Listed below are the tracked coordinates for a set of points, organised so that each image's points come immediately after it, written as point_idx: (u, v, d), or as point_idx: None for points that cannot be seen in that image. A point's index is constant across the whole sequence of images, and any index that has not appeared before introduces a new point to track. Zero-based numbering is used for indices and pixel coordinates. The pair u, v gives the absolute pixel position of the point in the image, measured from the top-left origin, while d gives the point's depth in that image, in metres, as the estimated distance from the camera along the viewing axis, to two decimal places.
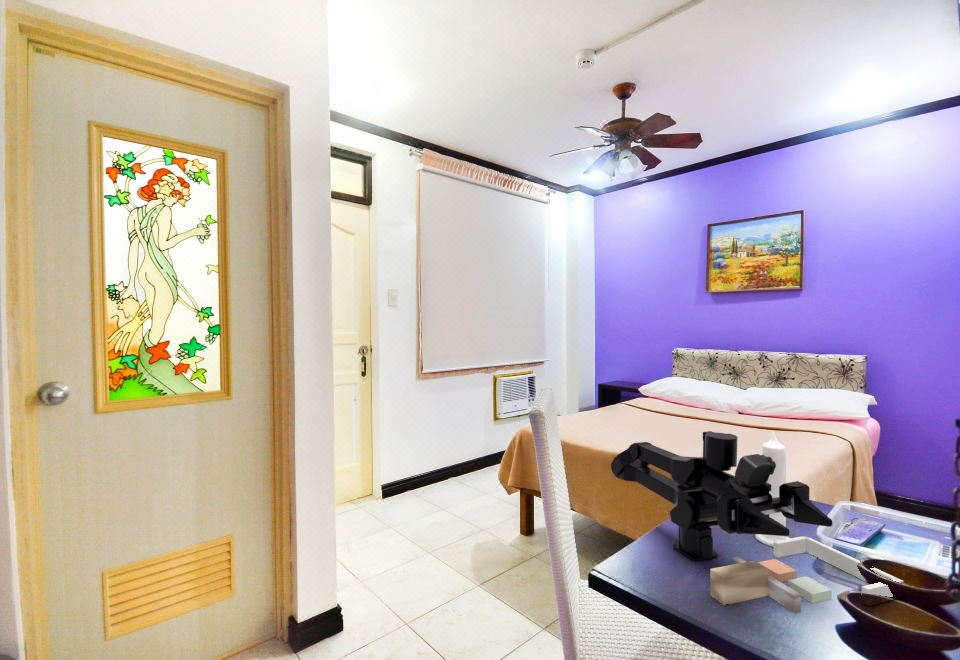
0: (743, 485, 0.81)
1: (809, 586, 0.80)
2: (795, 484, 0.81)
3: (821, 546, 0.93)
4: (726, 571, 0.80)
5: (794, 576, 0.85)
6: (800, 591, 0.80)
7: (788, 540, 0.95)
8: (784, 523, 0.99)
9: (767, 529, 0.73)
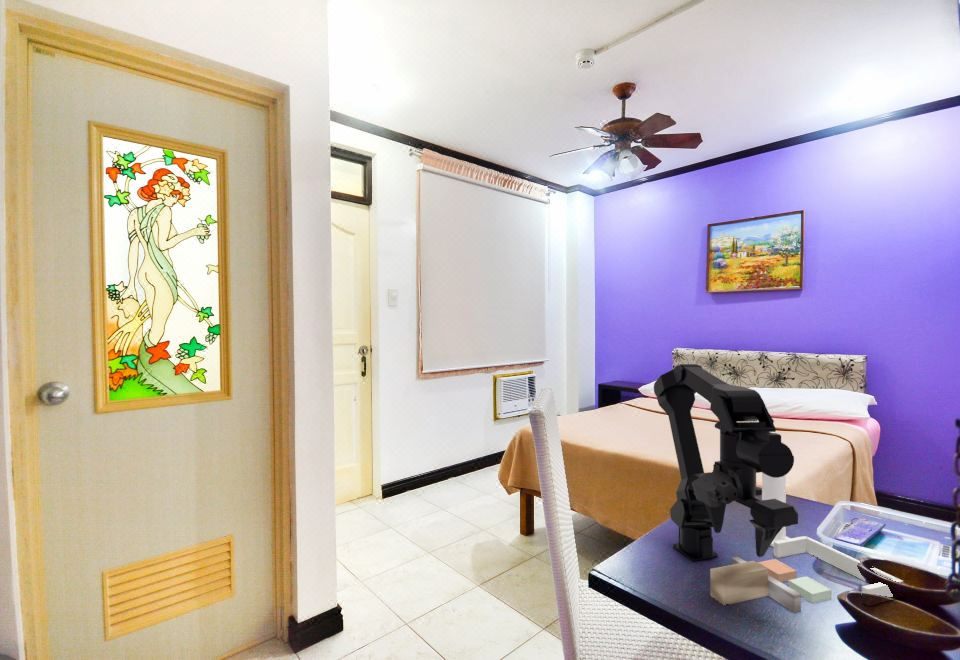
0: None
1: (809, 586, 0.80)
2: (757, 517, 0.73)
3: (821, 546, 0.93)
4: (726, 571, 0.80)
5: (794, 576, 0.85)
6: (800, 591, 0.80)
7: (788, 540, 0.95)
8: None
9: None
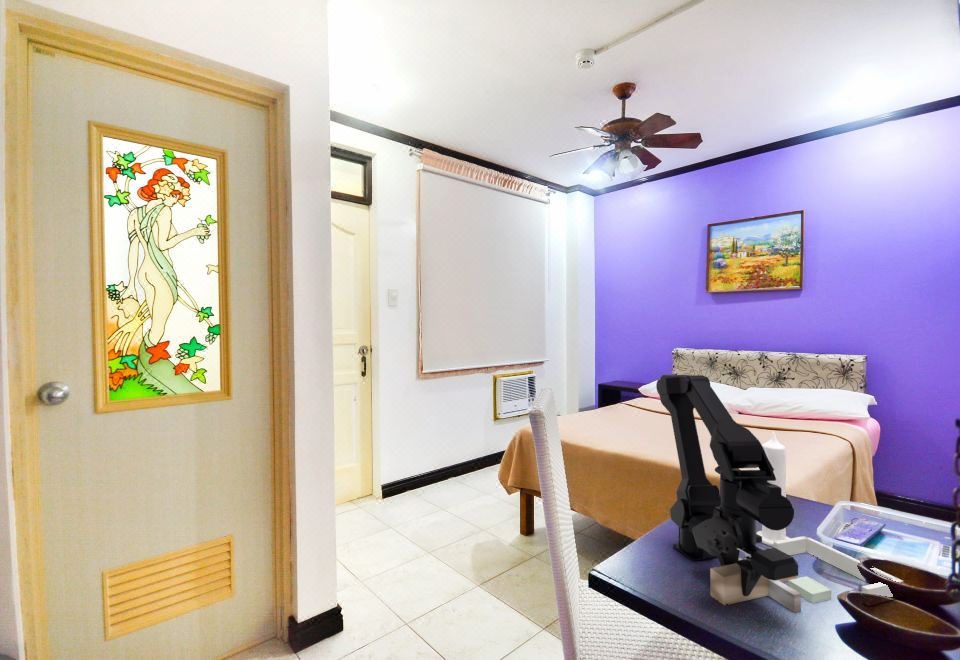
0: None
1: (809, 586, 0.80)
2: (757, 568, 0.73)
3: (821, 546, 0.93)
4: (726, 570, 0.80)
5: (794, 576, 0.85)
6: (800, 591, 0.80)
7: (788, 540, 0.95)
8: None
9: None
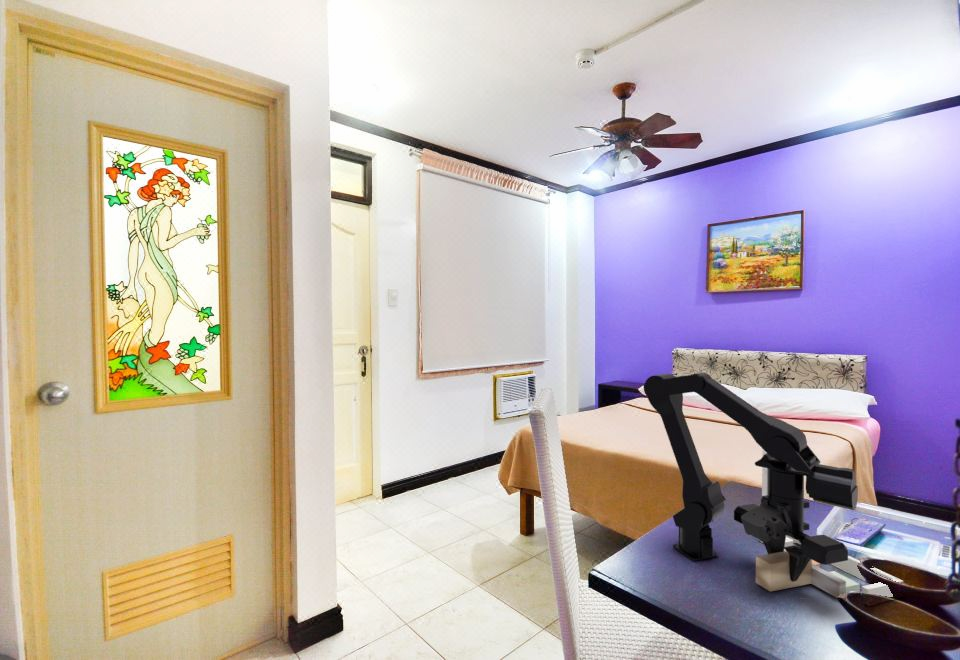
0: None
1: None
2: (807, 553, 0.76)
3: None
4: (771, 558, 0.83)
5: None
6: None
7: (788, 540, 0.95)
8: None
9: None
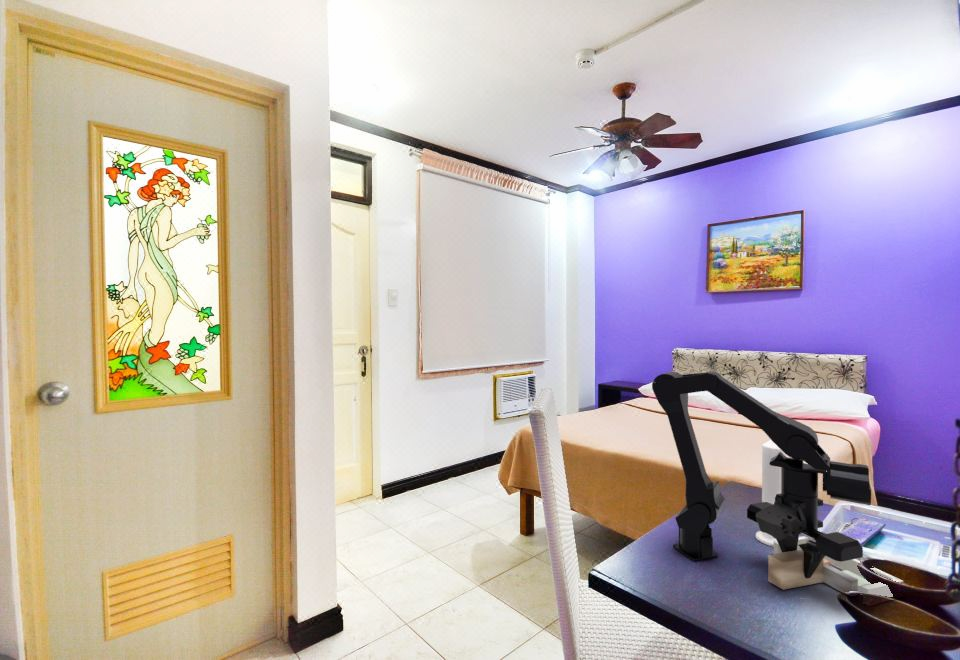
0: None
1: None
2: (823, 550, 0.77)
3: None
4: (784, 557, 0.84)
5: None
6: None
7: None
8: None
9: None
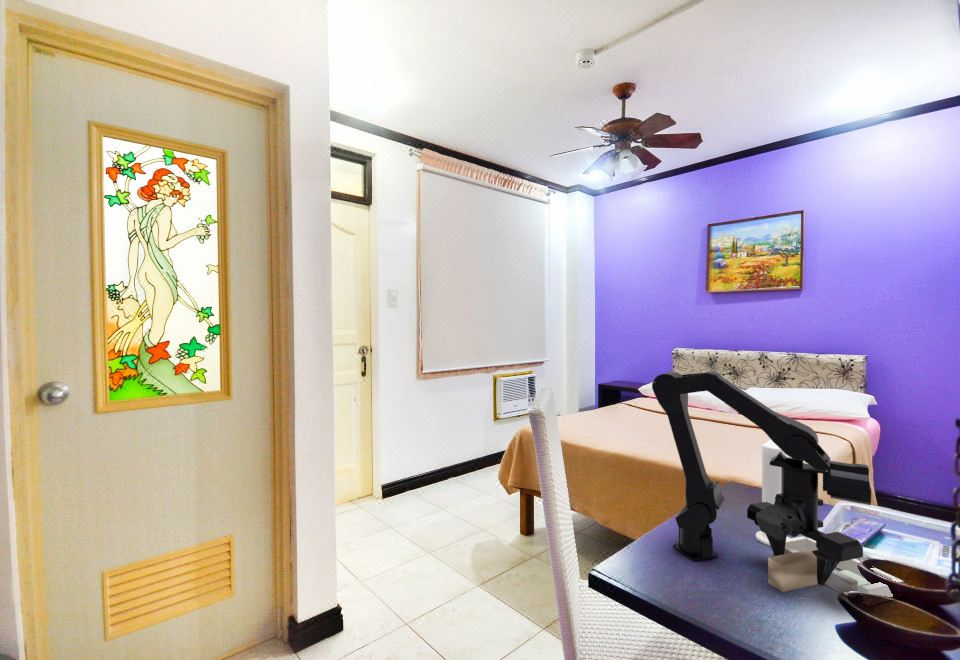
0: None
1: None
2: (823, 550, 0.77)
3: None
4: (784, 559, 0.83)
5: None
6: None
7: (788, 540, 0.95)
8: None
9: None
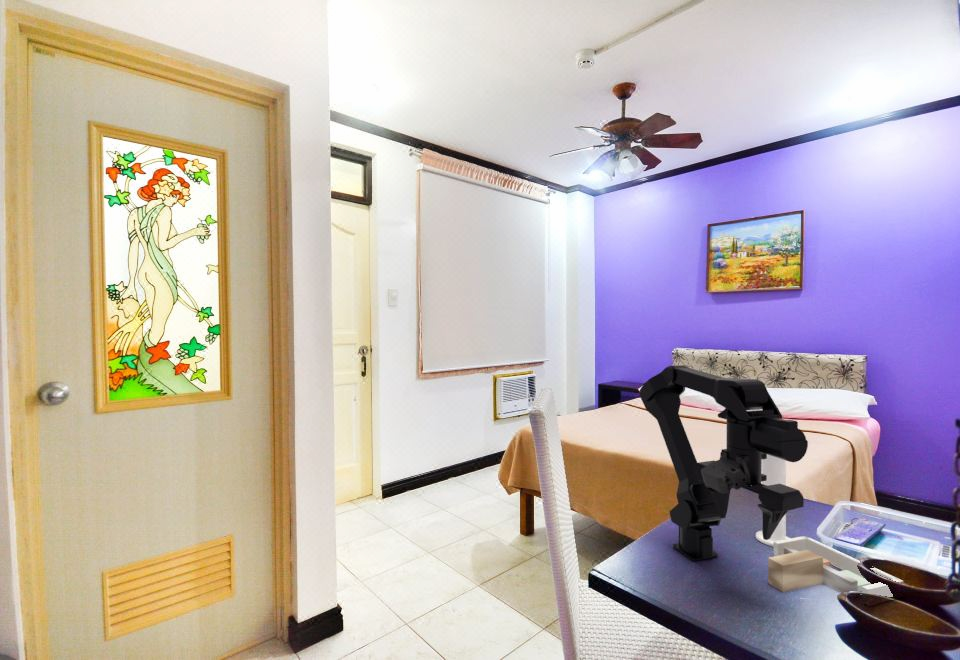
0: None
1: None
2: (765, 501, 0.76)
3: (821, 546, 0.93)
4: (784, 559, 0.83)
5: None
6: None
7: (788, 540, 0.95)
8: (784, 523, 0.99)
9: None
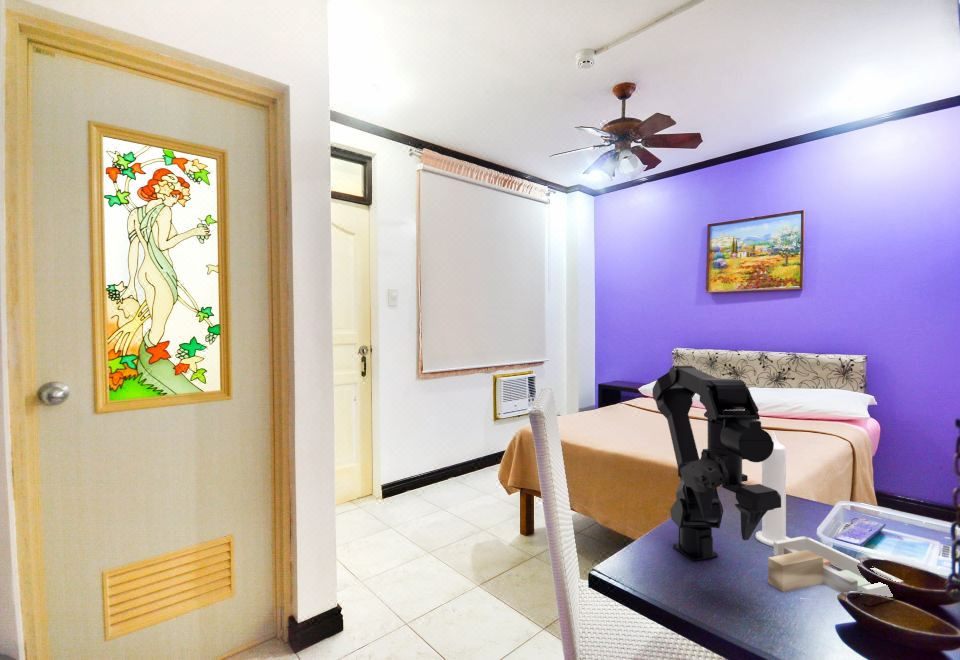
0: None
1: None
2: (741, 501, 0.76)
3: (821, 546, 0.93)
4: (784, 559, 0.83)
5: None
6: None
7: (788, 540, 0.95)
8: (784, 523, 0.99)
9: None
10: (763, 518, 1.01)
